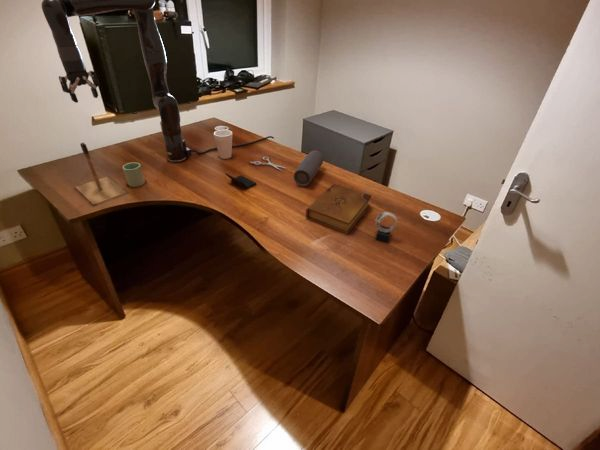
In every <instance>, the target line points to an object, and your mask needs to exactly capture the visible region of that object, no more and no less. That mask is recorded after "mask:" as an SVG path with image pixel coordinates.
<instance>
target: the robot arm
mask: <svg viewBox="0 0 600 450" xmlns="http://www.w3.org/2000/svg"><path fill="white" fill-rule="evenodd" d="M41 1H42V2H41V4H40V5H41V10H42V13H43V16H44V18H45V20H46V23H47V24H48V27H49V29H50V31H51V33H52V38H53V41H54V44H55V46H56V49H57V54H58V56H59V59H60V62H61V64H62V67H63V69H64V72H65V74H66V76H65V75H64V76H61V75H59V76H58V80H59V83H60V86H61V90H62V92H64V93H66V94H69V96H70V99H71V101H72V102H74V103H76V104H77V103H79V100H78V97H77V94H76V89H77V87H81V86H82V85H83V86H86V85H88V87H90V90H91V91H90V92H91V94H92V96H93V98H95V99H98V97H99V92H98V90H97V88H98V87H100V86H101V83H100V81H99V79H98V76H97V73H96V71H94V70H89V71H87V67H86V65H85V61H84V59H83V56H82V53H81V50H80V49H79V45H78V43H77V39H76V37H75V35H74V32H73V30H72V29H71V25H70V22H69V19H68V18H71V17H86V16H93V15H98V14H105V13H110V12H114V11H123V10H133V13H134V17H135V20H136V24H137V32H138V38H139V43H140V48H141V53H142V56H143V61H144V65H145V68H146V73H147V75H148V78H149V83H150V88H151V95H152V102H153V103H152V104H153V105H154V107H155V108H156V109H157V110H158V112H159V117H160V121H159V126H160V131H161V134H162V138H163V143H164V147H165V152H166V155H167V160H168V162H171V163H180V162H184V161H186V160H187V159H188V158H189V156H192V152H194V153H196V154H198V155H203V154H207V153H208V152H211V151H216V150H218V149H217V147H213V148H208V149H207V150H204V151H198V150H195V149H191V148H189V147H187V144H186V141H185V139H184V137H183V133H182V128H181V115H180V107H179V104H178V101H177V99H176V98H175V97H174V96H173V95H171V93H170V90H169V86H168V82H167V69H168V65H167V64H168V63H167V62H168V61H167V56H166V50H165V47H164V44H163V40H162V38H161V35H160V32H159V29H158V26H157V23H156V18H155V13H154V6H155V4H156V0H41ZM89 77H90V78H91V80H92V81H91V80H90V79H89ZM68 81H69V84H68V83H67V82H68ZM268 139H273V140H274V139H275V137H274V136H273V135H268V136H266V137H262V138H259V139H257V140H253V141H249V142H245V143H241V144H236V145H232V148H238V147H243V146H248V145H251V144H255V143H258V142H261V141H265V140H268Z"/></svg>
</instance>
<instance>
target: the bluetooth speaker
mask: <svg viewBox="0 0 600 450" xmlns="http://www.w3.org/2000/svg"><path fill="white" fill-rule="evenodd" d="M324 157H325V156H324V155H323V153H322V152H321V151H319V150H317V149H313V150H312V151H310V152H309V153H308V154H307V155H306V156H305V157H304V158H303V159H302V161H301V162H300V163H299V165H298V166H297V168H296V169H295V171H294V174H293V180H294V182H295V183H296V184H297V185H299V186H301V187H305V186H308V185H309V184H310V183H311V182H312V181H313V179H314V178H315V177H316V175H317V174H318V173H319V171H320V169H321V167H322V165H323V164H324V160H325V158H324Z"/></svg>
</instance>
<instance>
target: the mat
mask: <svg viewBox="0 0 600 450" xmlns="http://www.w3.org/2000/svg"><path fill="white" fill-rule="evenodd" d="M98 179H99V181H100V184H101V187H102V190H99V189H98V187H97V184H96V182H95V180H92V181H89V182H86V183H83V184H80V185H77V186H75V189H76V190H77V191H78V192H79V193H80V194H81V195H82V196H83V197H84V198H85V199H86V200H87V201H88V202H89V203H90V204H91V205H92V206H96V205H97V204H99V203H102V202H104V201H106V200H110V199H113V198H115V197H117V196H120V195H123V194H126V193H127V191H125V189H123V188H122V187H121V186H120V185H119V184H117V183H116V182H115V181H113V179H111V178H110V177H109V176H104V177H101V178H98Z"/></svg>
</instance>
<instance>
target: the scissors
mask: <svg viewBox="0 0 600 450" xmlns="http://www.w3.org/2000/svg"><path fill="white" fill-rule="evenodd" d="M262 160H263V161H265V162H261V161H259V160H256V161H249V164H254V165H255V166H260V165H262V166H265V165H266V166H271V167H273V168H275V169H277V170H279V171H280V172H283V170H282V169H281V168H283V169H286V167H284V166H281V165H278V164H274V163H273V162H271V161H270V158H269V156H262Z"/></svg>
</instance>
